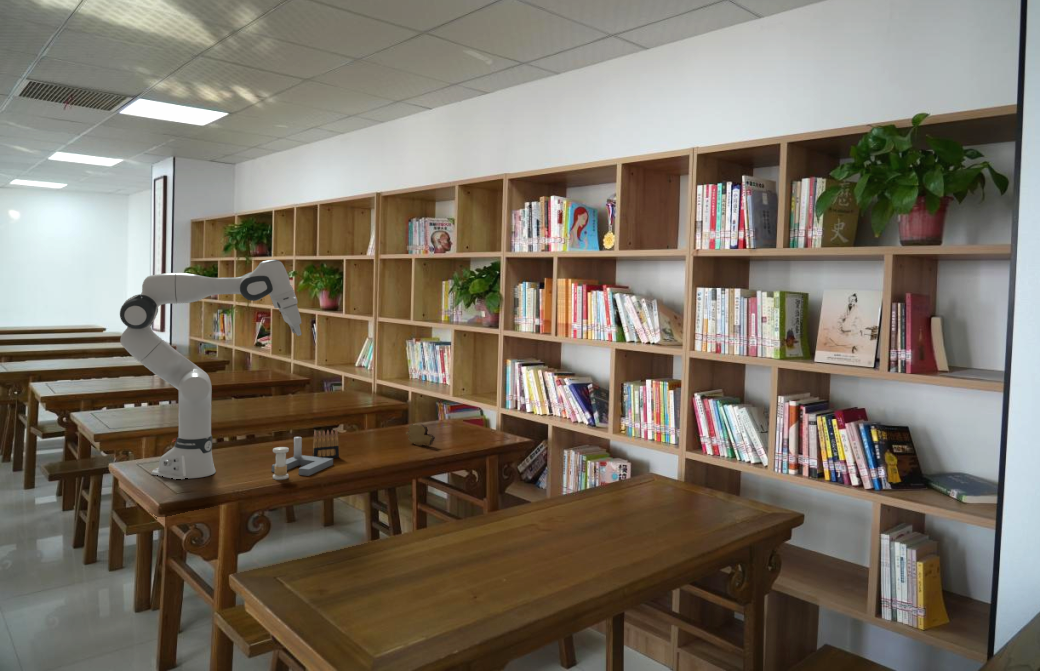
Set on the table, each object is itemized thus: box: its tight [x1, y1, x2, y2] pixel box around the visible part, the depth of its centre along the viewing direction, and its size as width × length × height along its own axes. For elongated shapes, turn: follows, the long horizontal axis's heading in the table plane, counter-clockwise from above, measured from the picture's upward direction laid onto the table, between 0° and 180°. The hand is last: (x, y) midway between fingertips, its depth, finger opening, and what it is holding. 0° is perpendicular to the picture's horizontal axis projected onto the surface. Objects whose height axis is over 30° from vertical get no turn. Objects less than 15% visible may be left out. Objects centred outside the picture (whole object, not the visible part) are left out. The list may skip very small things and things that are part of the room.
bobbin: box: [272, 446, 290, 481], centre depth 266 cm, size 6×6×11 cm
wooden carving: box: [405, 422, 436, 447], centre depth 327 cm, size 16×5×10 cm, turn 59°
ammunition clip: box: [311, 429, 340, 459], centre depth 297 cm, size 11×2×12 cm, turn 121°
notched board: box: [271, 436, 334, 477], centre depth 280 cm, size 16×18×10 cm
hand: (297, 334), depth 275 cm, fingers open, 8 cm apart
